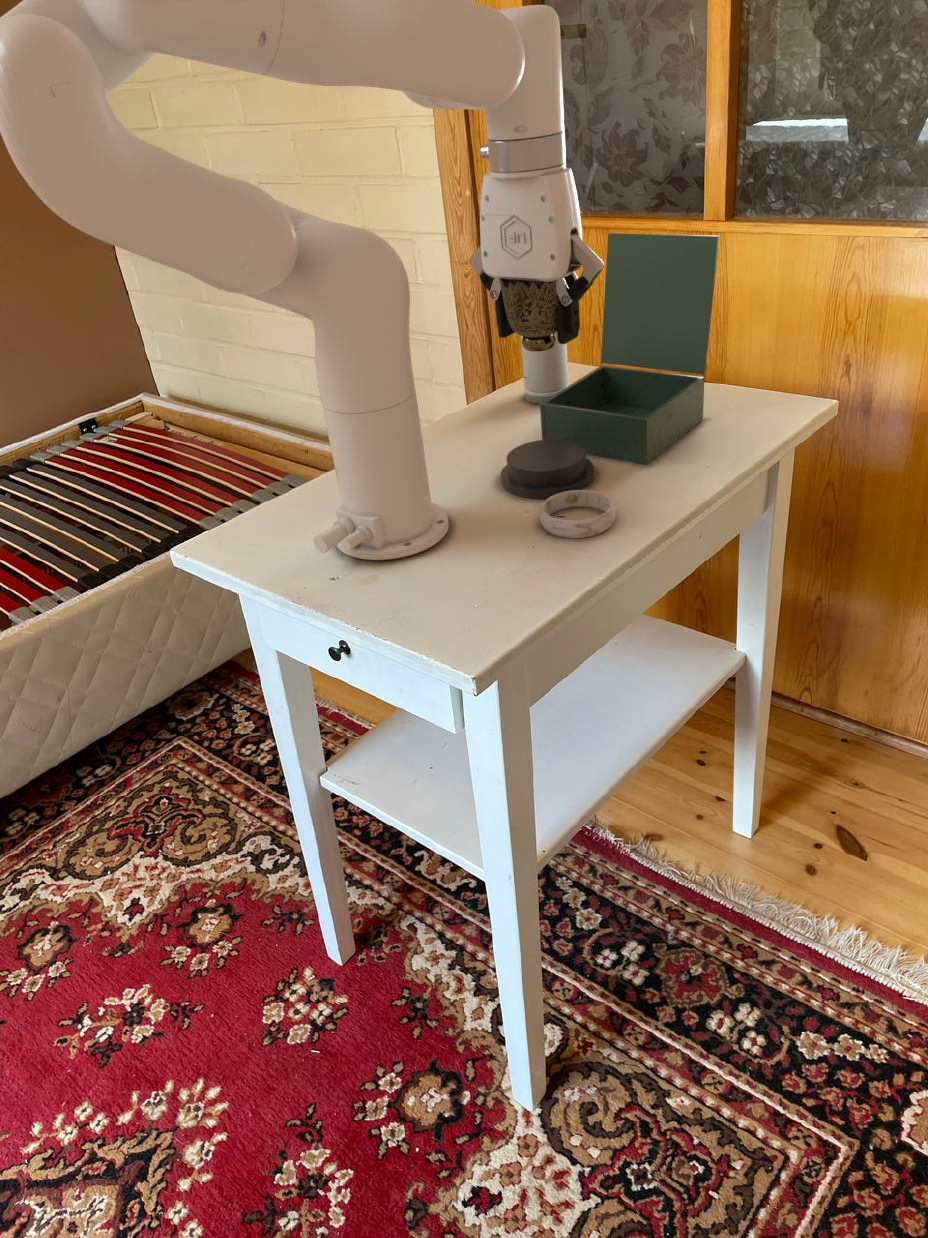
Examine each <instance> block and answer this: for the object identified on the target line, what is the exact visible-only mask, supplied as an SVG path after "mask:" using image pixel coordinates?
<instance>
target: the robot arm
mask: <svg viewBox="0 0 928 1238" xmlns="http://www.w3.org/2000/svg"><path fill="white" fill-rule="evenodd" d="M561 37H562V36H561V24H560V18H559V15H558V13H557V11H556V9H554V8H553V6H550V5H548V4H531V5H524V6H523V5H522V6H515V7H507V8H501V9H496V8H494V7H493V6H490V5H487V4H484V3H480V2H477V1H474V0H22V1H21V2H19V3H18V4H17V5H15V6H14V7H13V8H11V9H10V10H8V11H6V13H4V14H3V15H2V16H0V135H1V137H2V140H3V143H4V145H5V147H6V149H7V153H8V154H9V155H10V158H11V160H12V162H13V164H14V166H15V167H16V169H17V170H18V172H19V173H20V175H21V176H22V178H23V179H24V181H25V182H26V184H27V185H28V186H29V188H30V189H31V190H32V191H33V192H34V193H35V195H36V196H37V197H38V198H39V199H40V200H41V202H42V203H43V204H45V205H46V206H47V207H48V208H49V209H50V210H51V211H52V212H53V213H54V214H56V216H57V217H59V218H61V219H62V220H63V221H65V222H66V223H68V224H69V225H70V226H71V227H74V228H75V229H77V230H79V231H81V232H82V233H85V234H86V235H89V236H91V237H92V238H95V239H98V240H100V241H102V242H104V243H107V244H110V245H112V246H115V247H116V248H119V249H122V250H124V251H127V252H130V253H133V254H135V255H137V256H140V257H143V258H145V259H148V260H149V261H152V262H153V263H154V262H155V263H157V264H160V265H163V266H166V267H168V268H170V269H171V268H172V269H174V270H176V271H180V272H182V273H185V274H187V275H190V276H191V277H192V278H194V279H197V280H198V281H200V282H203V283H204V284H206V285H208V286H211V287H213V288H215V289H217V290H221V291H224V292H227V293H233V294H239V295H243V296H247V297H249V298H252V299H255V300H258V301H261V302H263V303H266V304H269V305H272V306H275V307H278V308H281V309H284V310H287V311H290V312H292V313H294V314H297V315H299V316H301V317H303V318H305V319H307V320H309V321H311V322H312V324H313V325H312V326H313V329H314V358H315V359H314V361H315V363H314V365H315V374H316V380H317V381H316V382H317V387H318V393H319V397H320V402H321V403H320V404H321V406H322V410H323V411H322V412H323V415H324V421H325V425H326V431H327V436H328V440H329V446H330V451H331V456H332V461H333V466H334V471H335V476H336V481H337V486H338V491H339V496H340V501H341V505H342V506H339V507H338V508H336V509H335V514H336V520H335V521H334V522H333V524H332V527H330V528H328V529H326V530H324V531H322V532H321V533H320V534H319V533H318V534H317V535H316V536H315V537H313V544H314V547H315V548H316V550H317V551H318V552H319V553H322V554H325V553H328V552H329V551H331V550H332V549H334V548H335V547H337V549H338V550H339V551H340V552H341V553H343V554H344V555H347V556H349V557H351V558H356V559H359V560H365V561H385V560H386V561H387V560H395V559H402V558H406V557H409V556H410V557H411V556H413V555H416V554H419V553H421V552H424V551H426V550H428V549H429V548H432V547H433V546H435V545H437V543H439V542H440V541H441V540H442V539H443V538H444V537H445V536H446V534H447V533H448V532H449V527H450V523H449V516H448V514H447V512H446V510H444V508H442V507H441V506H440V505H438V504H436V503H433V502H432V498H431V497H432V496H431V489H430V483H429V477H428V469H427V463H426V454H425V447H424V440H423V434H422V427H421V419H420V413H419V405H418V399H417V392H416V387H415V386H416V385H415V380H414V379H415V378H414V371H413V363H412V356H411V344H410V314H411V313H410V309H411V293H410V282H409V277H408V274H407V270H406V268H405V265H404V263H403V261H402V259H401V257H400V256H399V254H398V252H397V251H396V250H395V248H393V247H392V245H391V244H389V242H387V241H386V240H385V239H384V238H382V237H381V236H380V235H377V234H376V233H375V232H372V231H370V230H368V229H365V228H361V227H359V226H353V225H350V224H346V223H342V222H334V221H331V220H327V219H325V218H321V217H320V216H319V217H318V216H315V215H313V214H310V213H307V212H306V211H303V210H301V209H298V208H296V207H293V206H292V205H288V204H286V203H284V202H281V201H279V200H277V199H275V198H274V197H273V195H271V194H270V193H268V192H267V191H266V190H263V189H262V188H261V187H260V186H258V185H255V184H252V183H251V182H249V181H246V180H242V179H240V178H235V177H231V176H227V175H223V174H220V173H217V172H215V171H212V170H210V169H207V168H205V167H203V166H200V165H199V164H196V163H194V162H191V161H188V160H186V159H184V158H182V157H180V156H177V155H175V154H173V153H171V152H170V151H167V150H165V149H163V148H161V147H159V146H157V145H154V144H152V143H150V142H148V141H146V140H144V139H141V138H140V137H139V136H136V135H135V134H134V133H132V131H130V130H129V129H128V128H126V127H125V125H124V124H123V123H122V122H121V121H120V120H119V118H118V117H117V115H116V114H115V112H114V110H113V109H112V107H111V105H110V103H109V101H108V97H107V96H108V94H110V93H111V92H113V91H114V90H115V89H116V88H117V87H119V86H120V85H122V83H124V82H125V81H126V80H127V79H129V78H130V77H131V76H132V75H133V74H134V73H136V71H138V70H139V69H140V68H141V67H142V66H143V65H145V64H146V63H147V62H148V61H150V60H151V58H153V57H154V56H155V55H156V54H162V55H166V56H167V55H168V56H173V57H177V58H181V59H187V60H190V61H195V62H199V63H203V64H204V63H205V64H208V65H215V66H218V67H224V68H227V69H232V70H236V71H243V72H245V73H251V74H256V75H260V76H264V77H269V78H274V79H277V80H281V81H286V82H291V83H295V84H296V83H297V84H303V85H304V84H306V85H311V86H319V87H365V88H366V87H368V88H379V89H385V90H393V91H398V92H402V93H403V94H404V95H405V96H406V97H407V98H408V99H409V100H411V102H413V103H415V104H416V105H419V106H420V107H424V108H427V109H431V110H446V111H447V110H451V111H453V110H472V111H484V116H485V125H486V136H487V140H486V142H487V143H486V144H482V146H480V156H481V158H482V159H483V160H488V166H489V172H488V173H485V174H483V176H482V178H483V179H482V185H481V195H480V211H479V217H480V218H479V233H480V234H479V235H480V237H479V238H480V245H479V247H478V248H476V250H475V251H474V252H473V254H472V255H471V256H470V257H469V260H468V263H469V265H470V266H471V268H472V269H473V271H474V272H475V273H476V275H477V276H478V277H479V280H480V282H481V283H482V285H483V286H484V287H485V288H486V290H488V292H489V294H488V295H489V298H490V299H491V300H492V301H495V314H496V324H497V329H498V336H499V338H501V339H502V338H503V339H505V338H508V337H509V336H512V335H514V334H516V332H515V331H514V330H513V329H512V328H511V326H510V324H509V322H508V319H507V315H506V311H505V306H504V301H503V296H502V291H501V285H500V280H499V279H502V280H503V283H504V284H505V282H506V279H511V280H526V281H545V282H548V281H551V282H553V281H555V280H556V284H555V291H556V293H557V295H558V297H559V299H560V301H561V304H560V305H558V306H557V307H556V319H557V338H558V342H559V343H560V344H566V343H567V344H568V343H570V342H571V341H573V340H575V339H577V338H578V337H579V333H580V330H581V319H580V314H581V313H580V300H582V299H584V296H585V294H586V293H587V292H588V290H589V289H590V288H591V287H592V286H593V284H594V282H595V280H596V279H597V278H598V276H599V275H600V274H601V272H602V271H603V270H604V268H605V262H604V261H603V260H602V259H601V258H600V257H599V256H598V255H597V254H596V253H595V252H594V251H593V250H592V249H591V247H589V246H588V244H586V242H585V241H584V240H583V229H582V219H581V212H580V204H579V198H578V192H577V187H576V183H575V178H574V174H573V171H572V168H571V167H567V160H566V159H567V156H566V155H567V153H566V135H565V134H566V133H565V132H566V131H565V113H564V111H565V110H564V90H563V67H562V66H563V64H562V63H563V62H562V41H561V40H562V39H561ZM581 268H583V269H582V272H581V274H580V275H579V276H578V275H577V274H576V271H578V270H580V269H581ZM566 277H567V279H568V286H567V284H566V282H565V280H566ZM564 278H565V279H564ZM566 281H567V280H566Z"/></svg>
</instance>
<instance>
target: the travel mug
mask: <svg viewBox="0 0 928 1238" xmlns="http://www.w3.org/2000/svg"><path fill="white" fill-rule="evenodd" d="M554 336H555V338H556V341H555V344H554V346H553V347H552V348H550V349H548V350H546V351H540V352H532V351H528V350H526V349H524V347H523V345H522V338H523V336H521V335H520V346H521V358H522V359H521V360H522V371H523V374H522V375H523V385H524V398H525V400H526V401H527V402H529V403H531V404H534V405H535V404H536V405H540V403H542V402H544V401H545V400H547V399H548V398H550V397H552V396H553V395H555V394H556V393H558V392H560V391H561V390H563V389H565V388H566V387H568V386H569V385H570V384H569V381H570V380H569V364H568V363H569V361H568V343H566V344H560V343H559V342H558V338H557V332H556V333H554Z"/></svg>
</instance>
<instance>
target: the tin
mask: <svg viewBox="0 0 928 1238" xmlns="http://www.w3.org/2000/svg"><path fill="white" fill-rule="evenodd" d="M704 401H705V377H704V376H697V375H688V374H680V373H673V372H663V371H655V370H646V369H637V368H629V367H620V366H612V365H603V364H602V365H600V366H597V368H595V369H593V370H592V371H590V372H588V373H587V374H585V375H584V376H582V377H580V378H579V379H577V380H575V381H574V382H573V383H571V384H569V386H568V387H566V388H565V389H563V390H561V391H560V392H558V393H556V394H555V395H553V396H552V397H550V398H548V399H547V400H545V401H544V402H542V403H540V404H539V413H540V426H541V427H540V429H541V437H542V438H541V440H547V439H559V440H567V441H572V442H575V443H578V444H580V445H581V446H582V447H583V448H584V449H585V451H586V455H592V456H596V457H601V458H602V457H603V458H607V459H608V458H609V459H612V460H613V459H614V460H619V461H625V462H629V463H636V464H641V465H648V464H650V463H651V462H652V461H654V460H655V459H656V458H657V457H658V456H660V455H661V454H662V453H663V452H665V451H666V450H667V449H668V448H670V447H671V446H672V445H673V444H675V443H676V442H677V441H678V440H680V439H681V438H682V437H683V436H685V435H686V434H687V433H688V432H689V431H691V430H692V429H693V428H695V427H696V426H697V425H698V424H700V423H701V422H702V421H703V420H704Z"/></svg>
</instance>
